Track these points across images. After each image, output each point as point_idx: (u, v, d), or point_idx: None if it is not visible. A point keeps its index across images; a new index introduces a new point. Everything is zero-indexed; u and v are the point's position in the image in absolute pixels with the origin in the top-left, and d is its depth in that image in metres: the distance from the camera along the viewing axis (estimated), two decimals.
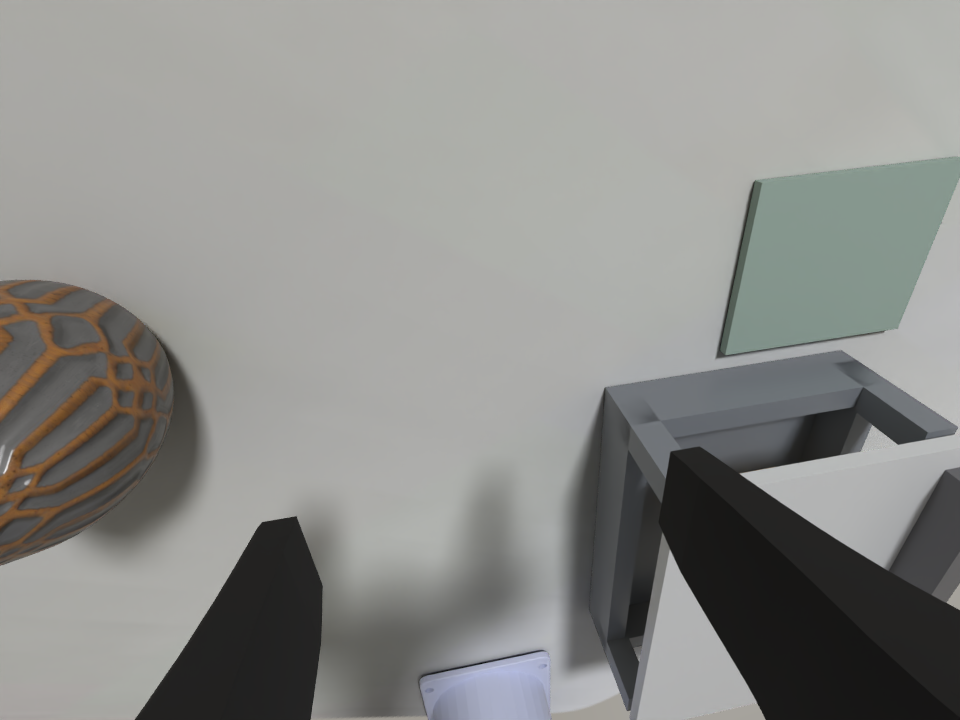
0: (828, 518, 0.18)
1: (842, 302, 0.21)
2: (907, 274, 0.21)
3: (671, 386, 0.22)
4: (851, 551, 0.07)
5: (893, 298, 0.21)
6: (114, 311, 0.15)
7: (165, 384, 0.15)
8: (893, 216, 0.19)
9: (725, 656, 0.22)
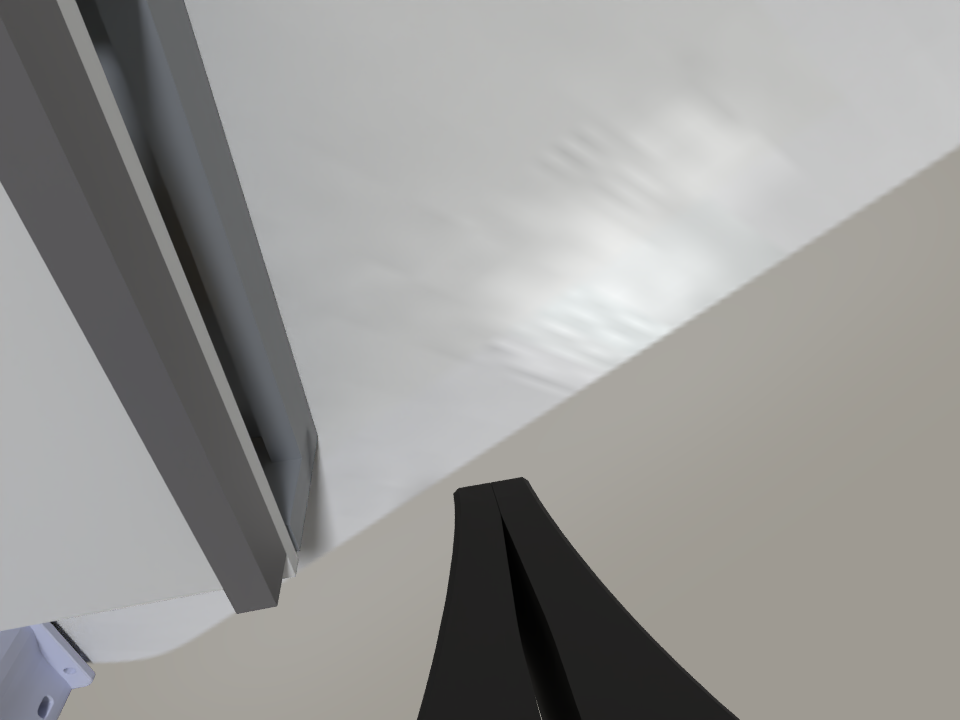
0: None
1: None
2: None
3: None
4: (608, 600, 0.07)
5: None
6: None
7: None
8: None
9: None
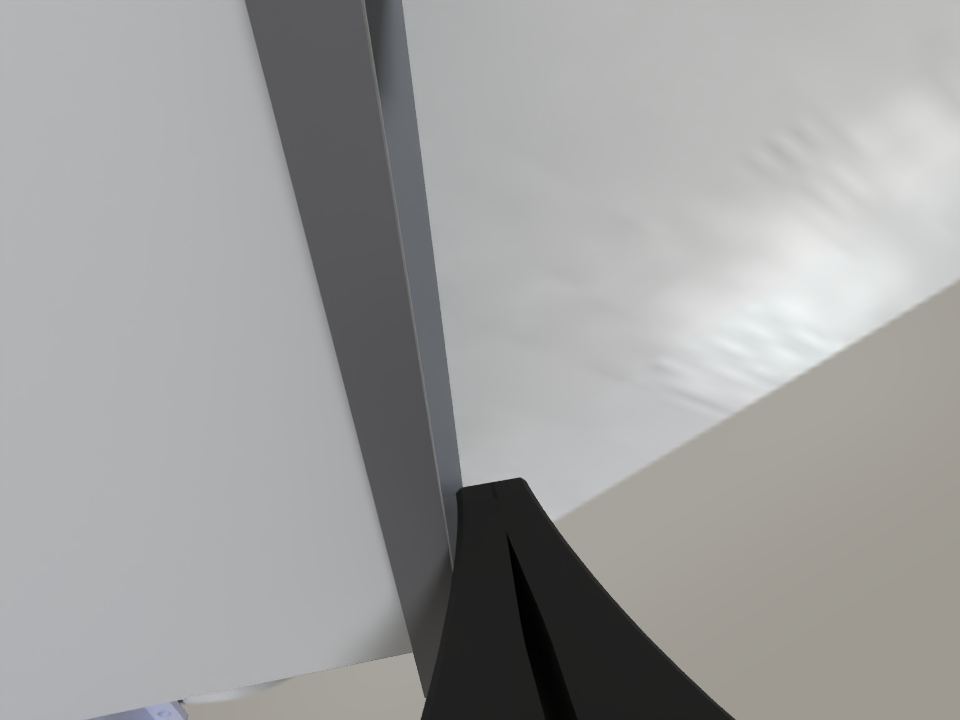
0: None
1: None
2: None
3: None
4: (606, 601, 0.07)
5: None
6: None
7: None
8: None
9: (45, 562, 0.09)
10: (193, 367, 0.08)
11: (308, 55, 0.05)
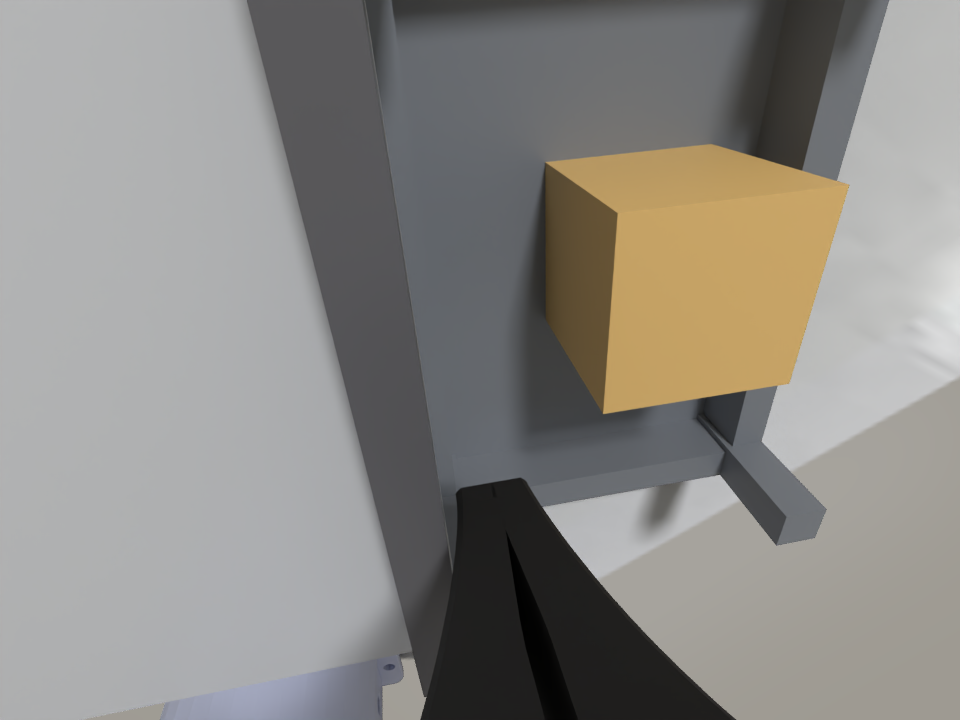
0: None
1: None
2: None
3: None
4: (606, 601, 0.07)
5: None
6: None
7: None
8: None
9: (46, 561, 0.09)
10: (193, 367, 0.08)
11: (310, 57, 0.05)
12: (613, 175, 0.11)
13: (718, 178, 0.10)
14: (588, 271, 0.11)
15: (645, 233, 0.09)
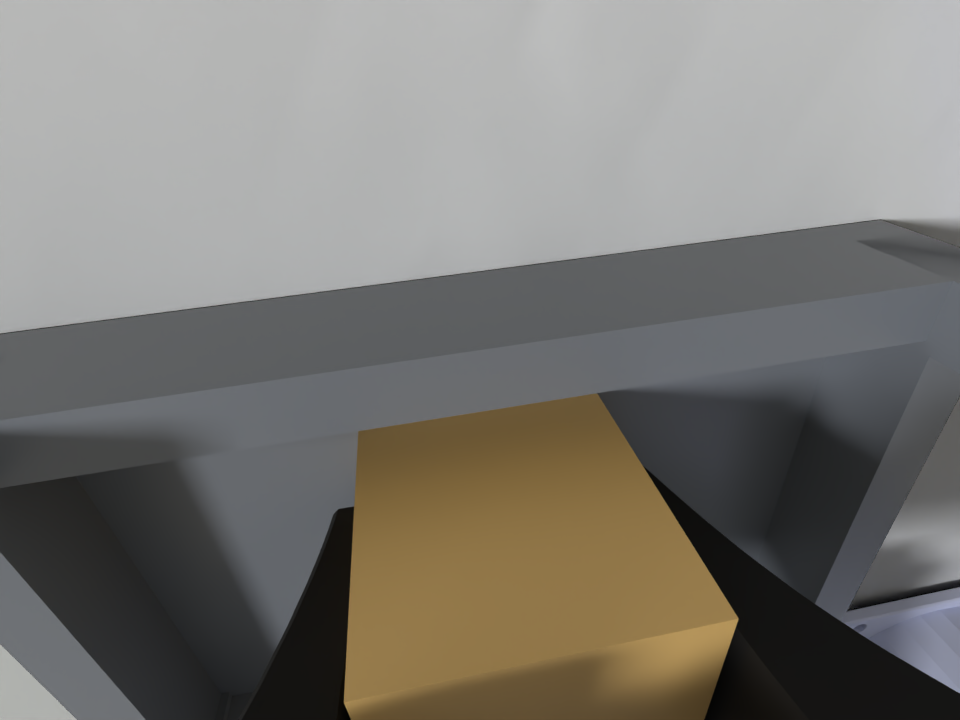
0: None
1: None
2: None
3: None
4: (762, 569, 0.07)
5: None
6: None
7: None
8: None
9: None
10: None
11: None
12: None
13: None
14: None
15: None
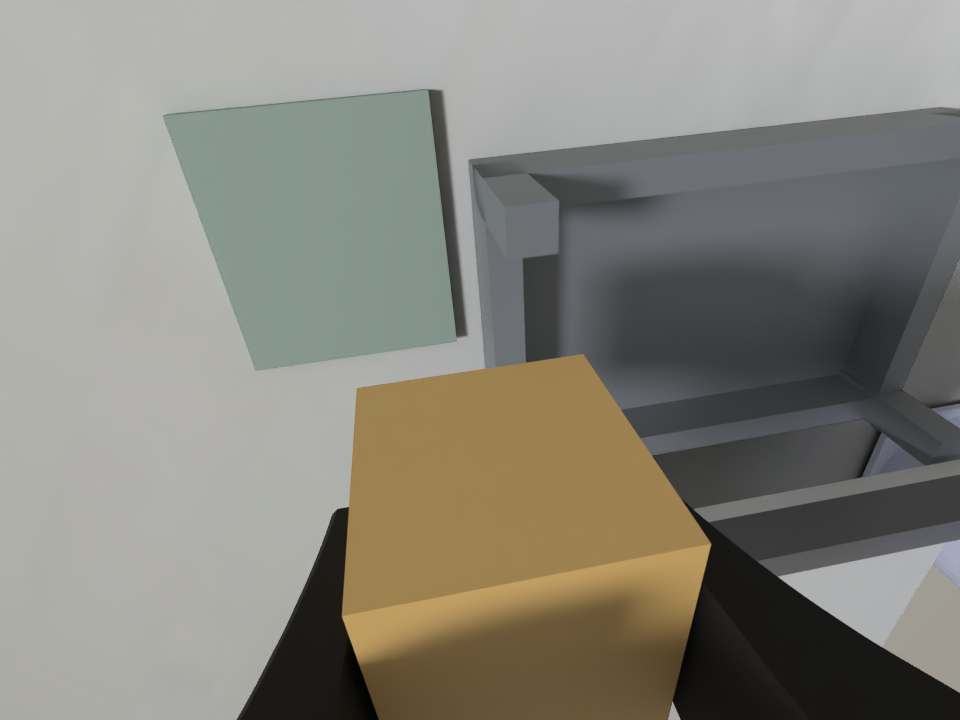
0: None
1: (385, 213, 0.16)
2: (337, 123, 0.14)
3: None
4: (762, 569, 0.07)
5: (376, 127, 0.14)
6: None
7: None
8: (260, 194, 0.15)
9: None
10: None
11: None
12: None
13: None
14: None
15: None
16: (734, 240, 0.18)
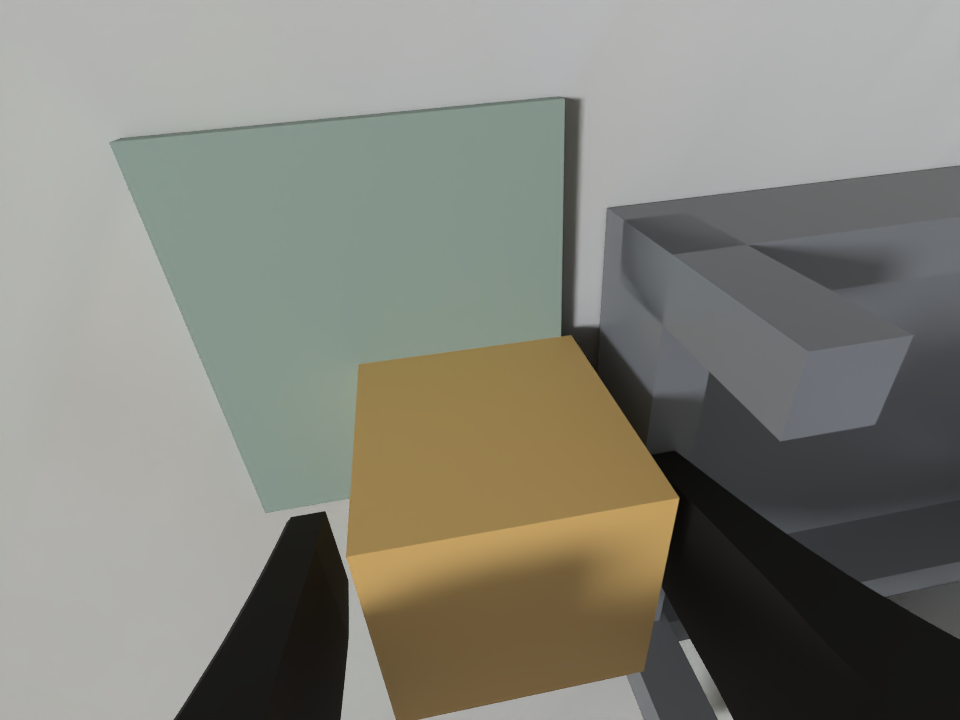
0: None
1: (475, 292, 0.10)
2: (410, 153, 0.08)
3: None
4: (818, 558, 0.07)
5: (474, 160, 0.09)
6: None
7: None
8: (278, 268, 0.09)
9: None
10: None
11: None
12: None
13: None
14: None
15: (419, 703, 0.08)
16: None
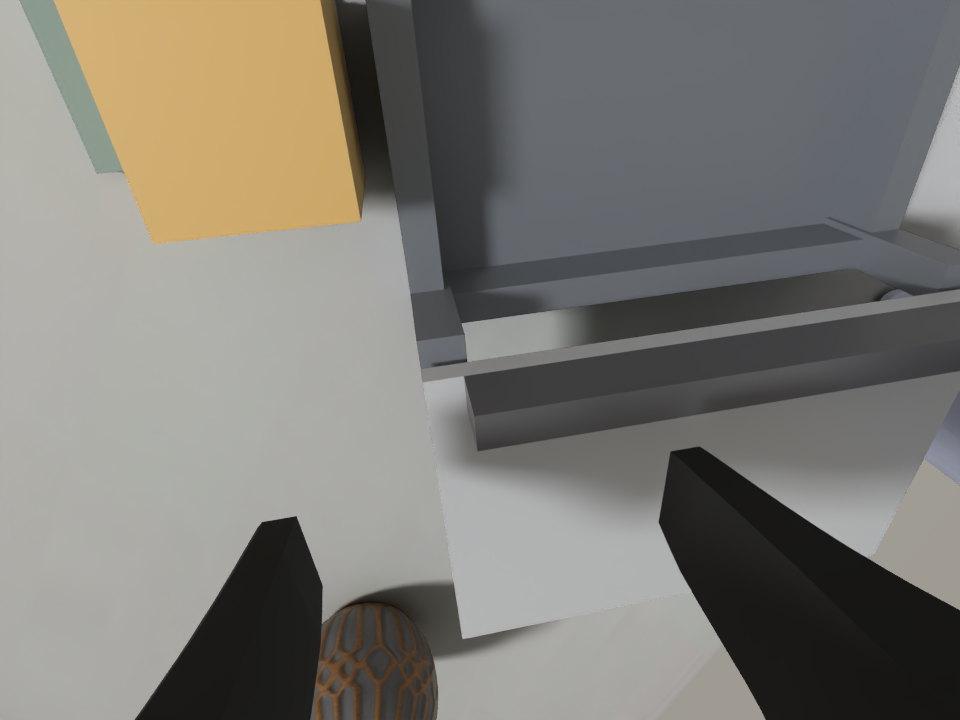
0: (527, 509, 0.15)
1: None
2: None
3: None
4: (851, 551, 0.07)
5: None
6: None
7: (355, 639, 0.23)
8: None
9: None
10: (682, 444, 0.15)
11: (569, 421, 0.12)
12: None
13: None
14: None
15: (164, 216, 0.11)
16: (694, 13, 0.14)
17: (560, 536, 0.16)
